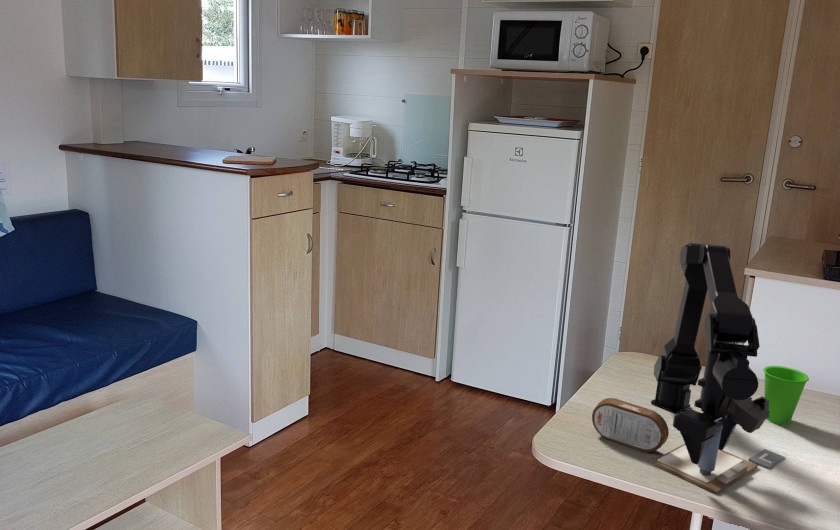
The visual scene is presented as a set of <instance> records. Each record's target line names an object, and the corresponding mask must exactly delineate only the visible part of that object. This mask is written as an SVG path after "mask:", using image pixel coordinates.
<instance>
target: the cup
mask: <svg viewBox="0 0 840 530" xmlns="http://www.w3.org/2000/svg"><path fill="white" fill-rule="evenodd" d="M762 371H763V373H764V398H766V399H767V400H768V401H769V411H770V413H769V418H767V419H766V420H767V421H769V422H771V423H773V424H777V425H783V424H784V425H789V424H790V423H791V421H792V419H793V417H794V413H795V412H796V408H797V406H798V404H799V401H800V398H801V395H802V393H803V390H804V388H805V386H806V384H807V382H809V379H810V378H809V375H807V374H806V373H805V372H803V371H800V370H799V369H798V370H797V369H795V368H792V367H788V366H787V367H786V366H781V365H769V366H767V365H766V366H764V368H763V369H762Z"/></svg>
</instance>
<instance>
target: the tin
mask: <svg viewBox="0 0 840 530" xmlns="http://www.w3.org/2000/svg"><path fill="white" fill-rule="evenodd" d="M591 421H592V424H593V427H594V429H595V431H596V432H597V433H598V435H600V436H601V437H603V438H604V439H606V440H609V441H612V442H613V443H614V442H615V443H617V444H620V445H623V446H626V447H629V448H632V449H634V450H638V451H640V452H646V453H652V452H655V451H657V450H659V449H660V448H661V447H662V446H663V445H664V444H666V442H667V441H668V439H669V435H670V434H669V426H668V424H667V421H666V420H665V419H664V418H663V416H662V415H661V414H660V413H659V412H657V411H655V410H653V409H650V408H648V407H647V408H646V407H644V406H641V405H638V404H634V403H631V402H627V401H625V400H622V399H619V398H615V397H607V398H604V399H602V400H600V401H599V402H598V403H597V405H596V406H595V407H594V409H593V411H592V414H591Z"/></svg>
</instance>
